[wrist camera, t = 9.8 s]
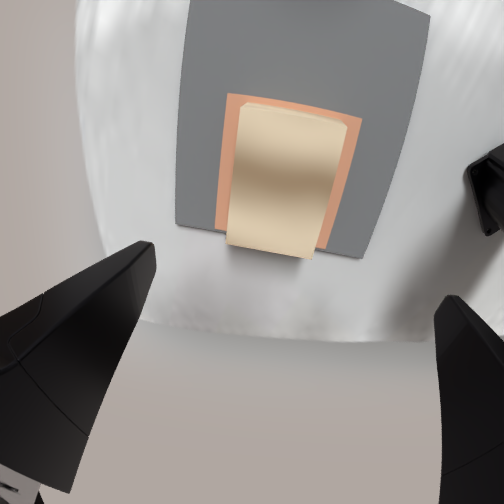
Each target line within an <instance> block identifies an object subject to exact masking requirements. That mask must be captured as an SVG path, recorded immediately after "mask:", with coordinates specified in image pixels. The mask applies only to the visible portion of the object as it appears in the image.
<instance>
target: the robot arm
mask: <svg viewBox="0 0 504 504" xmlns="http://www.w3.org/2000/svg"><path fill="white" fill-rule="evenodd" d="M474 169H475V172H474V173H473V170H474ZM467 173H468V176H469V179H470V183H471V186H472V190H473V193H474V197H475V201H476V205H477V209H478V213H479V217H480V222H481V227H482V231H483V233H484V234H485V235H486V236H490V235H492V234H493V233H495V232H497V231H498V230H500V229H501V230H502V231H503V232H504V143H503V144H502V145H500V146H498V147H497V148H495V149H493V150H492V151H490V152H489V153H488V154H487V155H486V156H484V157H482V158H480V159H479V160H477V161H475V162H473V163H472V164H470V165H469V166H468V169H467ZM488 229H489V230H488ZM487 230H488V231H487ZM155 273H156V256H155V247H154V244H153V243H152V242H147V241H138V242H136V243H134V244H132V245H130V246H128V247H126V248H124V249H122V250H120V251H118V252H116V253H115V254H113V255H111V256H109V257H107V258H105V259H103V260H101V261H100V262H98V263H96V264H94V265H92V266H90V267H88V268H86V269H85V270H83V271H81V272H79V273H77V274H76V275H74V276H72V277H70V278H68V279H66V280H65V281H63V282H61V283H59V284H58V285H56V286H54V287H52V288H51V289H49V290H47V291H45V292H44V294H43V293H42V294H40V295H39V296H37V297H35V298H34V299H32V300H30V301H28V302H27V303H25V304H23V305H21V306H20V307H18V308H16V309H14V310H12V311H10V312H8V313H6V314H5V315H3V316H1V317H0V504H44V502H43V500H42V498H41V495H40V493H39V488H40V485H41V483H42V484H44V485H47V486H49V487H52V488H54V489H57V490H60V491H62V492H65V493H68V494H69V493H70V491H71V488H72V485H73V482H74V479H75V476H76V473H77V469H78V467H79V464H80V460H81V457H82V455H83V452H84V449H85V446H86V443H87V440H88V438H89V437H88V436H89V435H90V432H91V429H92V427H93V424H94V422H95V419H96V416H97V414H98V411H99V409H100V406H101V404H102V401H103V398H104V396H105V394H106V391H107V389H108V387H109V384H110V382H111V379H112V377H113V375H114V372H115V370H116V368H117V366H118V363H119V361H120V359H121V356H122V354H123V352H124V350H125V348H126V345H127V343H128V341H129V339H130V337H131V334H132V332H133V330H134V328H135V326H136V324H137V322H138V319H139V317H140V315H141V312H142V309H143V306H144V303H145V301H146V298H147V295H148V292H149V289H150V286H151V284H152V281H153V278H154V276H155ZM434 329H435V344H436V361H437V371H438V380H439V390H440V402H441V403H440V404H441V423H442V467H441V468H442V469H441V483H440V496H439V504H504V342H503V340H502V339H500V337H499V336H498V335H497V334H496V333H495V332H494V331H493V330H492V329H491V328H490V327H489V326H488V325H487V324H486V322H485V321H484V320H483V319H482V318H481V317H480V316H479V315H478V314H477V313H476V312H475V311H473V310H472V309H471V308H470V307H469V306H468V305H467V304H466V303H465V302H464V301H463V300H462V299H461V298H460V297H459V296H456V295H447V296H446V297H445V298H444V300H443V301H442V303H441V304H440V306H439V307H438V309H437V310H436V312H435V314H434Z"/></svg>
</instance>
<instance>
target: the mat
mask: <svg viewBox="0 0 504 504" xmlns="http://www.w3.org/2000/svg"><path fill="white" fill-rule="evenodd" d="M429 23H430V15H427V14H425V13H423V12H421V11H418V10H416V9H414V8H411V7H409V6H406V5H404V4H401V3H399V2H396V1H393V0H190V6H189V13H188V20H187V27H186V35H185V43H184V52H183V61H182V71H181V82H180V95H179V109H178V126H177V148H176V188H175V224H178V225H184V226H189V227H195V228H201V229H206V230H212V231H218V232H223V233H227V224H228V213H229V204H230V194H231V184H232V175H233V166H234V157H235V148H236V140H237V131H238V123H239V115H240V107H241V106H243V105H244V104H245V103H247V102H250V103H258V104H264V105H271V106H277V107H283V108H289V109H294V110H299V111H304V112H309V113H314V114H319V115H323V116H328V117H332V118H336V119H340V120H341V121H342V122H343V123H344V124H345V125H346V126H347V131H346V136H345V140H344V144H343V148H342V152H341V156H340V160H339V164H338V168H337V172H336V176H335V180H334V183H333V187H332V191H331V195H330V198H329V202H328V205H327V209H326V213H325V216H324V220H323V223H322V227H321V230H320V233H319V237H318V240H317V244H316V247H315V250H320V251H325V252H330V253H336V254H341V255H346V256H351V257H356V258H361V259H362V258H363V256H364V253H365V251H366V249H367V246H368V244H369V241H370V239H371V236H372V234H373V231H374V228H375V226H376V223H377V220H378V218H379V215H380V212H381V210H382V207H383V204H384V201H385V198H386V196H387V193H388V190H389V187H390V184H391V181H392V178H393V175H394V172H395V169H396V166H397V162H398V159H399V156H400V153H401V149H402V146H403V143H404V139H405V136H406V132H407V128H408V125H409V121H410V117H411V113H412V109H413V105H414V101H415V97H416V93H417V88H418V84H419V79H420V75H421V70H422V65H423V60H424V54H425V49H426V43H427V37H428V30H429Z"/></svg>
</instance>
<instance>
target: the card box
mask: <svg viewBox="0 0 504 504" xmlns="http://www.w3.org/2000/svg"><path fill="white" fill-rule="evenodd" d="M346 131H347V126H346V125H345V124H344V123H343V122H342V121H341V120H340V119H336V118H332V117H328V116H323V115H319V114H314V113H309V112H304V111H299V110H294V109H289V108H283V107H277V106H271V105H264V104H258V103H250V102H247V103H245V104H244V105H243V106H241V107H240V115H239V123H238V131H237V140H236V148H235V157H234V166H233V175H232V184H231V194H230V204H229V213H228V224H227V234H226V244H229V245H235V246H240V247H246V248H251V249H257V250H262V251H268V252H273V253H278V254H284V255H289V256H295V257H300V258H306V259H311V260H312V257H313V253H314V250H315V247H316V244H317V240H318V237H319V233H320V230H321V227H322V223H323V220H324V216H325V213H326V209H327V205H328V202H329V198H330V195H331V191H332V187H333V183H334V180H335V176H336V172H337V168H338V164H339V160H340V156H341V152H342V148H343V144H344V140H345V136H346Z"/></svg>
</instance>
